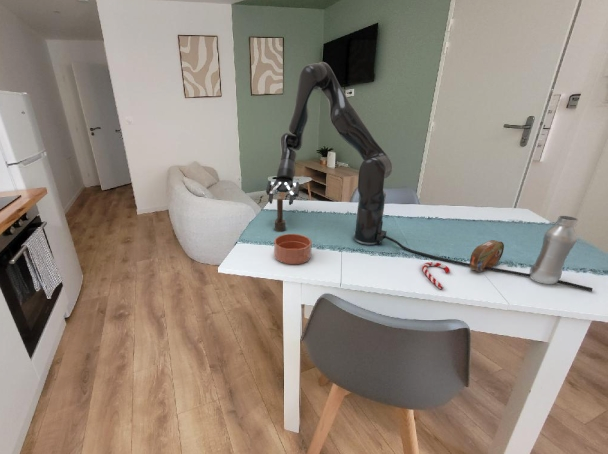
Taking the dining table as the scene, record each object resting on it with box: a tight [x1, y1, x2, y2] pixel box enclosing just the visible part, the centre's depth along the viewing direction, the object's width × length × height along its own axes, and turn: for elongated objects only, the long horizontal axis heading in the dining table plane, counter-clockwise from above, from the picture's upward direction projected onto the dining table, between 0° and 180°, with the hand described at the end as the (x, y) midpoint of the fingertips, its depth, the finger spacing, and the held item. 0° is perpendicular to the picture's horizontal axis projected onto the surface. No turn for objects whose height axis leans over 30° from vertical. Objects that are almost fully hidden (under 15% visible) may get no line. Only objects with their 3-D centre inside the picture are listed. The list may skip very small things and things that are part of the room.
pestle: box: [274, 198, 286, 232], centre depth 127 cm, size 5×5×14 cm
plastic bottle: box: [528, 215, 579, 285], centre depth 82 cm, size 6×7×20 cm
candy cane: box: [421, 261, 451, 290], centre depth 90 cm, size 8×1×15 cm
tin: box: [468, 239, 505, 273], centre depth 93 cm, size 15×3×8 cm, turn 117°
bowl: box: [273, 233, 313, 265], centre depth 105 cm, size 13×13×6 cm
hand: (280, 203), depth 125 cm, fingers open, 8 cm apart
